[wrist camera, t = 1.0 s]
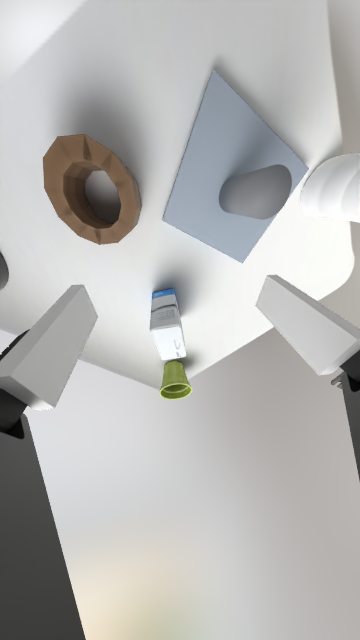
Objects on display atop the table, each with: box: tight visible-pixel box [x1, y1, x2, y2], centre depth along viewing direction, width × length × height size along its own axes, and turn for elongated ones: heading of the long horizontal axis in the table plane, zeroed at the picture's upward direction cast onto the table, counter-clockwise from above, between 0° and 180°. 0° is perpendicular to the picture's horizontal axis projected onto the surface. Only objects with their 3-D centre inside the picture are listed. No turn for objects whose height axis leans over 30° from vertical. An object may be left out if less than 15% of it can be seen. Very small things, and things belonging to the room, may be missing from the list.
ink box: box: [150, 288, 186, 361], centre depth 30 cm, size 8×5×12 cm, turn 9°
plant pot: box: [159, 361, 192, 399], centre depth 46 cm, size 9×9×9 cm
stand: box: [162, 69, 309, 263], centre depth 18 cm, size 16×14×11 cm
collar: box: [43, 134, 142, 245], centre depth 19 cm, size 9×9×6 cm
